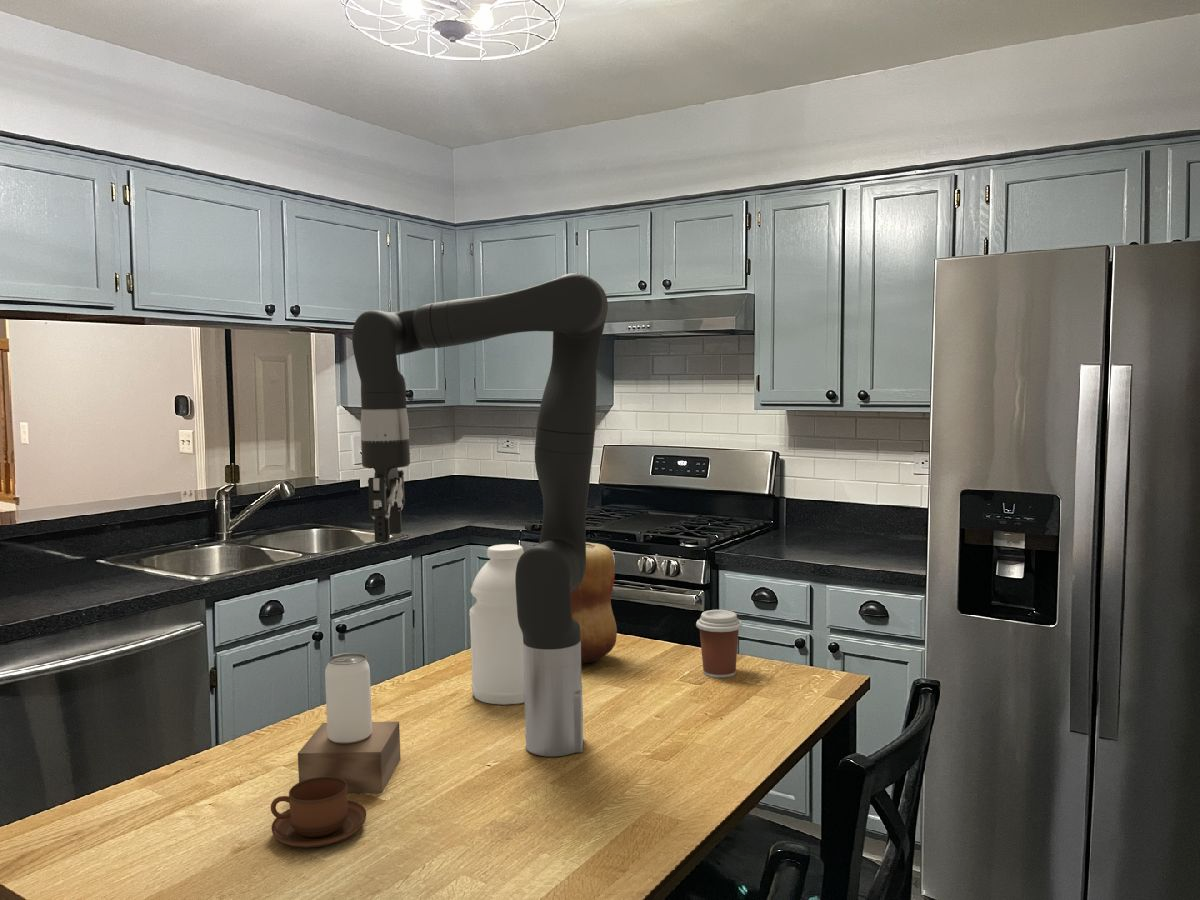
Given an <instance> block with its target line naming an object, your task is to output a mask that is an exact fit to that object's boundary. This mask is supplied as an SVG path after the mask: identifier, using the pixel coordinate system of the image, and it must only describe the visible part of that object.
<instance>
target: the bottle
mask: <svg viewBox="0 0 1200 900" xmlns="http://www.w3.org/2000/svg"><path fill="white" fill-rule="evenodd" d="M524 552H525V550H524V548H523V546H522V545H519V544H515V543H514V544H513V543H512V544H511V543H505V544H495V545H491V546H489V547H488V548H487V551H486V556H487V558H488V559H489V560H487V562H485V564H484V565H483V566H482V567H481V568H480V569H479V571H478V573H477V574H476V576H475V578H474V580H473V582H472V585H471V588H470V594H471V595H472V596H473V597H474V598H475V599H476V602H475V603H474V604H473V605H472V606H471V608H470V609H469V613H468V615H469V627H470V628H469V629H470V656H471V657H470V658H471V659H470V660H471V661H470V662H471V685H470V687H471V692H472V694H473V697H474V698H475V699H476V700H478V701H480V702H482V703H487V704H491V705H506V706H507V705H517V704H525V698H524V658H523V633H522V631H521V629H520V626H519V623H518V616H517V602H516V585H515V575H516V567H517V563H518V561H519V558H520V557H521V555H522V554H523V553H524Z"/></svg>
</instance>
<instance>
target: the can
mask: <svg viewBox="0 0 1200 900" xmlns="http://www.w3.org/2000/svg"><path fill="white" fill-rule="evenodd" d="M324 672H325V673H324V678H325V702H326V703H325V705H326V706H325V708H326V723H327V732H328V738H329V739H330V740H331V741H332V742H334V743H338V744H351V743H357V742H360V741H363V740H365V739H367V738H368V737H369V736H370V734H371V733H372V722H373V720H372V696H371V695H372V694H371V693H372V692H371V691H372V690H371V671H370V665H369V662H368V661H367V656H366V654H364V653H359V652H345V653H340V654H335V655H332V656H331V657H329V658H328V659H327V665H326V667H325V671H324Z"/></svg>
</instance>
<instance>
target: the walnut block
mask: <svg viewBox="0 0 1200 900" xmlns="http://www.w3.org/2000/svg"><path fill="white" fill-rule="evenodd" d="M311 735H312V736H311V737H310V738H308V740H307V741H306V742H305V744H304V745H303V746H302V747H301V748H300V749H299V751H298V752H297V766H298V767H297V769H298V783H299V782H302V781H304V780H307V779H311V778H316V777H337V778H341V779H343V780H344V781H345V782H346V783H347V794H353V793H354V794H361V793H363V794H364V793H365V794H366V793H367V794H368V793H371V794H372V793H383V792H384V790H385V789H386V786H387V785H388V783H389V781H390V779H391V777H392V775H393V773H394V772H395V770H396V768H397V766H398V765H399V762H400V760H401V758H402V757H401V734H400V721H372V733H371V734H370V736H369V737H368V738H367V739H365V740H363V741H360V742H357V743H351V744H338V743H334V742H332V741H331V740H330V739H329V738H328V732H327V722H322V723H321V724H320V726H319V727H317V729H316V730H315V732H314V733H312V734H311Z"/></svg>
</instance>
